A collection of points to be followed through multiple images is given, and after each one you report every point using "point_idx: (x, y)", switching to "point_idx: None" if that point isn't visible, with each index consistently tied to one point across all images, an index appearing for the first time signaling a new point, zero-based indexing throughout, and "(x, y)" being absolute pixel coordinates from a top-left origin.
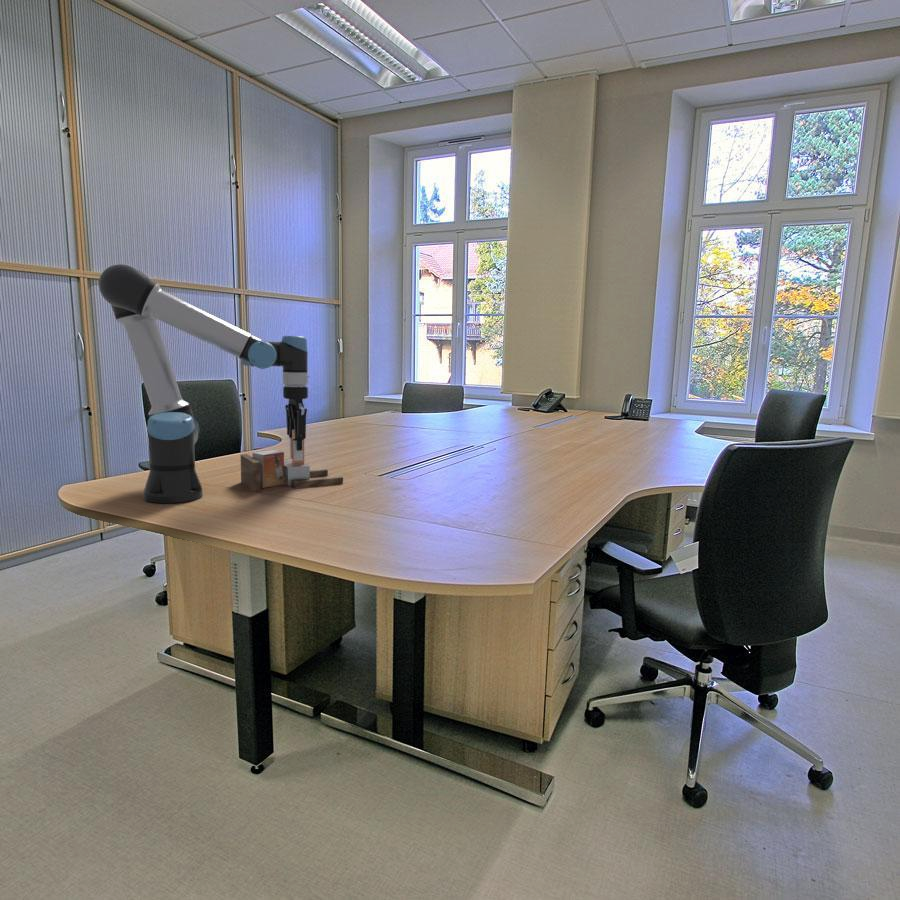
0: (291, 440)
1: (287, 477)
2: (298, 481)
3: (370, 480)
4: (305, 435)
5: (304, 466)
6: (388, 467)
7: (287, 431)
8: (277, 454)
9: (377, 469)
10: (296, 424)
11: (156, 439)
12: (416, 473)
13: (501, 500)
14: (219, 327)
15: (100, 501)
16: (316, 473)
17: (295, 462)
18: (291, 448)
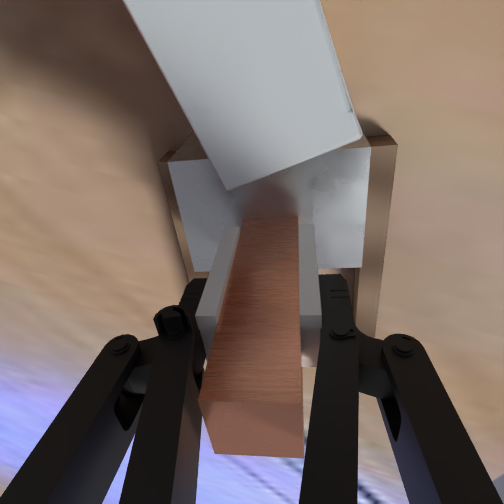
0: (299, 310)
1: (191, 142)
2: (164, 180)
3: None
4: (117, 402)
5: (189, 248)
6: (382, 467)
7: (415, 363)
8: (194, 131)
9: (371, 444)
10: (130, 475)
11: None
12: (278, 477)
13: (9, 472)
14: None
15: None
16: (355, 293)
17: (241, 227)
18: (300, 267)
